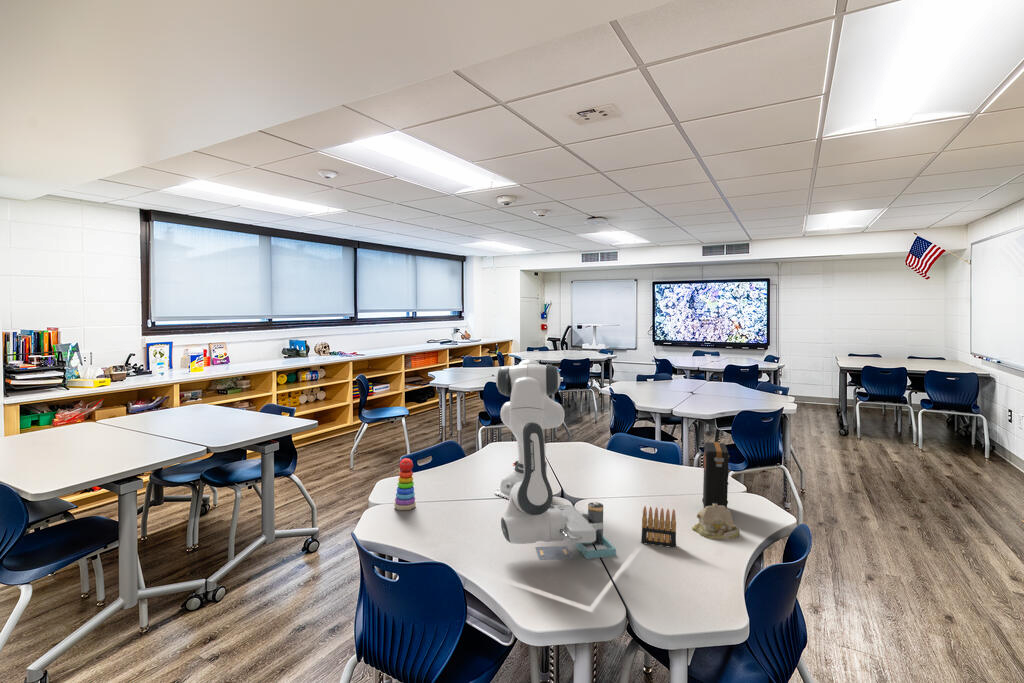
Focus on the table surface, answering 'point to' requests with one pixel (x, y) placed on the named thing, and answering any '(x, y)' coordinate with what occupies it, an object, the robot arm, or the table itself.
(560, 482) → the table surface
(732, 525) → the ceramic model
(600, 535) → the cell
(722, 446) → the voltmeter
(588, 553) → the teal square frame
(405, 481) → the stacking toy
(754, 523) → the table surface
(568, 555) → the checker cradle
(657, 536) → the ammunition clip
